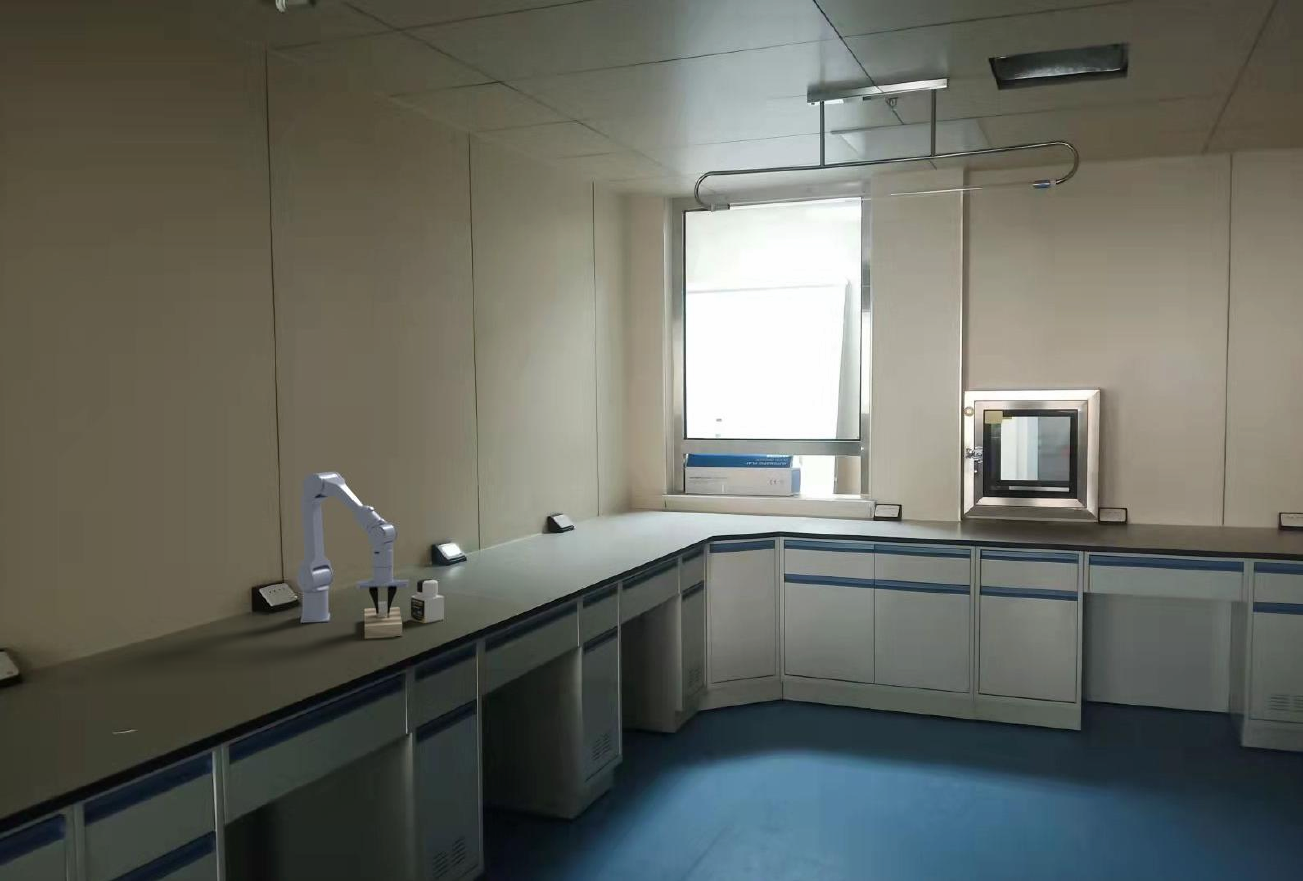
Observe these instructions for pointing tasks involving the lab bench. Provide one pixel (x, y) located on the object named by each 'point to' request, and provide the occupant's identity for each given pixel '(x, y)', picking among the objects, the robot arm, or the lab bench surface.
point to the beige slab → (383, 624)
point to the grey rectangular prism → (382, 609)
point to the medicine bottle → (427, 602)
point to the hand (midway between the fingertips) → (382, 612)
